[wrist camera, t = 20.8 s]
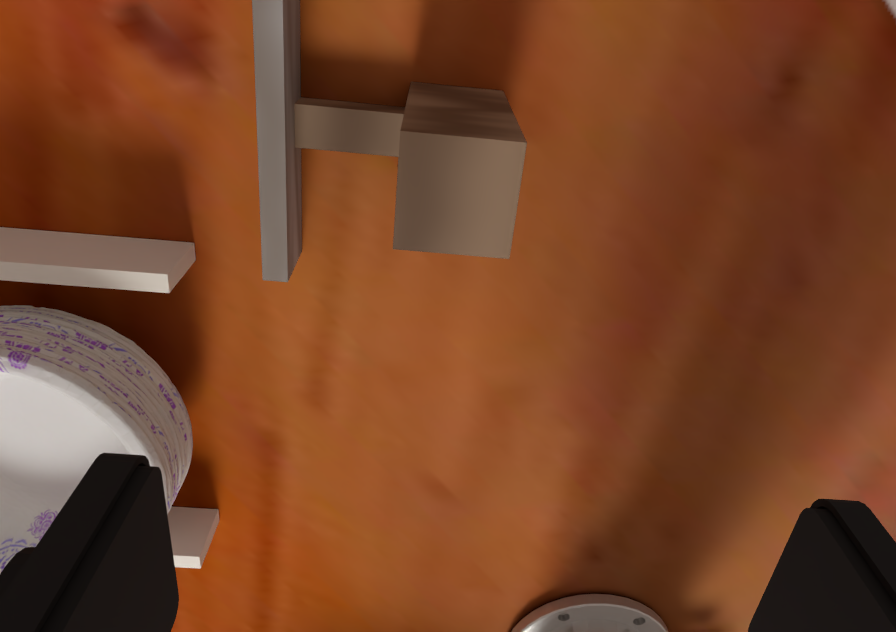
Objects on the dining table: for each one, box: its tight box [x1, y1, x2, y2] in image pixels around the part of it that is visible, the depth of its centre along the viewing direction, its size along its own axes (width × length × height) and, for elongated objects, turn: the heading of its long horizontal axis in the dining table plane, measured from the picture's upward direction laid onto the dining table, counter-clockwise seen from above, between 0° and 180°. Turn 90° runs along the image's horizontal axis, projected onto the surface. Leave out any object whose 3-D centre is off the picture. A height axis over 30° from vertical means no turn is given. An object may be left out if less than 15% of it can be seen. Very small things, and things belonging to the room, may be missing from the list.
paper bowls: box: [0, 305, 193, 573], centre depth 37 cm, size 15×15×8 cm
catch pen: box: [0, 227, 219, 568], centre depth 38 cm, size 17×20×4 cm
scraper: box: [252, 0, 527, 282], centre depth 29 cm, size 11×14×10 cm
